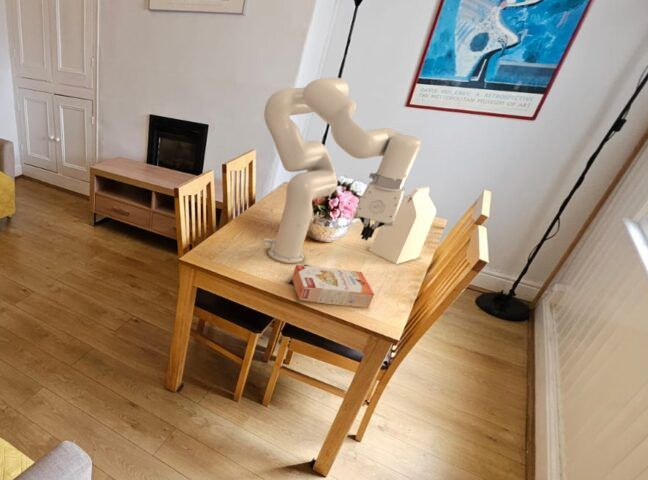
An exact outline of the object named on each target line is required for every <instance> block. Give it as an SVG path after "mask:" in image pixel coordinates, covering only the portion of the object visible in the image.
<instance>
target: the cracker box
mask: <svg viewBox="0 0 648 480" xmlns="http://www.w3.org/2000/svg"><path fill="white" fill-rule="evenodd" d="M310 266H311V265H308V266H304V265H300V264H296V265H295V267H294V271H293V274H292V276H291V280H293V283H294V285H293V287H294V289H295V292H296V296H297V299H298V301H299V302H309V303H310V302H311V303H318V304H328V305H336V306H344V307H353V308H362V309H363V308H364V309H369V307H370V306H371V303H372V300H373V298H374V295H375V293H374V292H373V290H372V288H371V286H370V285H369V282H368V280H367V279H366V277H365V276H364V274H363V272H362V271H359V270H347V269H339V268H338V269H337V268H327V267H319V266H311V267H310Z"/></svg>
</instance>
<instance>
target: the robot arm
mask: <svg viewBox="0 0 648 480" xmlns="http://www.w3.org/2000/svg"><path fill="white" fill-rule="evenodd" d="M349 93H350V88H349V85H348V83H347V81H346V80H345V79H343V78H341V77H326V78H325V77H324V78H318V79H314V80H312V81H310V82H309V83H308V84H306V86H304V87H303V86H302V87H293V88H292V87H291V88H284V89H280V90H277V91H275V92H274V93H272V94H271V95H270V96H269V98H268V99H267V101H266V102H265V106H264V111H263V112H264V113H263V114H264V115H263V117H264V123H265V125H266V127H267V130H268V131H269V133H270V136H271V138H272V140H273V142H274V145H275V148H276V151H277V154H278V156H279V159H280V162H281V163H282V166H283V168H284V170H285V171H287V172H289V173H294V172H295V173H296V172H300V173H298V174H296V175H294V176H293V177H291V179H289V181H288V183H287V185H286V192H285V193H286V196H285V203H284V207H283V211H282V216H281V219H280V223H279V227H278V231H277V233H276V237H275V239H270V238H268V237H265V238H264V240H263V243H264V244H263V245H264V246H266V247H269V248H268V251H267V253H268V256H269V257H270V258H272V259H273V260H275V261H277V262H281V263H285V264H298V263H301V262H303V260H304V258H305V254H304V252H303V251H302V250H303V247H304V244H305V239H306V237H307V234H308V230H309V227H310V224H311V220H312V217H313V213H314V209H313V208H314V207H313V200H316V199H321V198H324V197H325V198H326V197H328V196H331V195H332V194H333V193H335V191H336V190H337V187H338V183H339V181H338V175H337V173H336V169H335V167H334V164H333V161H332V159H331V155H330V153H329V151H328V149H327V147H326V146H325V145H324V144H323V143H322V142H320V141H318V140H304V138H303V136H302V133H301V130H300V128H299V126H298V125H297V124H296V123H295V122H294V121H293V119H291V117H290V116H298V115H306V114H310V113H315V114H316V115H317V116H318V117H319V118H321V119H322V121H324V122H326V123H327V125H329V126H330V133H331V135H332V138H333V141H334V142H335V144H337V146H338V147H340V148H341V149H342V150H343V151H344V152H345V153H346V154H348V155H349V156H351V157H352V158H354V159H357V160H359V159H360V160H364V159H369V158H374V157H375V158H376V157H382V158H381V160H380V163H379V166H378V168H377V171H376V172H374V173H373V172H370V173H369V176H368V178H369V179H371V180H372V181H369V183H368V184H367V186H366V187H365V189H364V191H363V192H362V195H361V197H360V200H359V202H358V205H357V207H356V209H355V211H354V214H353V217H355V218H356V219H358V220H360V222H361V223H362V226H363V228H362V230H361V233H360V236H361V240H364V241H368V240H369V238H370V239H372V237H373V236H374V234H375V231H376V229H379V227H381V226H383V225H384V226H392V225H393V223H394V218H395V216H396V214H397V212H398V209H399V207H400V204H401V201H402V199H404V198H403V197H404V193H405V188H404V186H405V183H406V181H407V178H408V176H409V174H410V171H411V169H412V167H413V164H414V162H415V160H416V158H417V156H418V153H419V151H420V149H421V146H422V141H421V140H420V139H419V138H418V137H416V136H412V135H409V134H408V135H407V134H403V133H402V132H399V131H397V130H395V129H393V128H389V127H381V128H374V129H368V130H365V129H363V128H362V127H361V126H359V125H358V124H357V123H356V122H355V121H354V120H353V118H352V117H353V116H354V114H355V113H356V110H357V103H356V102H355V100H353V99H352V98H350V97H349ZM301 171H305V172H301ZM371 221H374V223H373V224H371Z"/></svg>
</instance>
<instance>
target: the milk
mask: <svg viewBox="0 0 648 480" xmlns="http://www.w3.org/2000/svg"><path fill="white" fill-rule="evenodd" d="M429 192H430V187H429V186H427V185H426V186H420V187H415V188H414V189H413V190H412V192H411V193H410V194H407V195H405V196H403V198H402V201H401V204H400V207H399V209H398V212H397V214H396V216H395V218H394V223H393V225H392V226H384V225H383V226H381V227H378V228H377V229H378V230H377V231H376V234H375V236H374V238H373V240H372V243H371V244H370V247H369V249H368V251H370V252H372V253H374V254H375V255H378V256H379V257H381V258H383V259H385V260H388V261H390V262H391V263H393V264H395V265H397V264H402V263H404V262H407V261H412V260H414V259H418V258H419V257H420V254H421V251H422V249H423V246H424V245H425V242H426V239H427V237H428V234H429V232H430V229H431V227H432V224H433V223H434V222H433V221H434V219H435V217H436V214H437V209H436V206H435V204H434V203H433V201H432V199H431V197H430V195H429Z"/></svg>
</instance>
